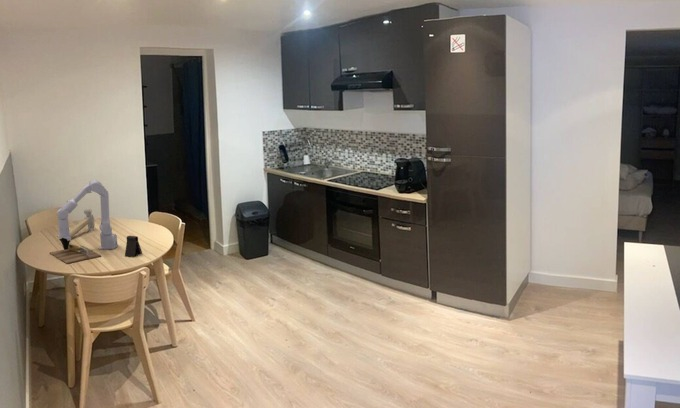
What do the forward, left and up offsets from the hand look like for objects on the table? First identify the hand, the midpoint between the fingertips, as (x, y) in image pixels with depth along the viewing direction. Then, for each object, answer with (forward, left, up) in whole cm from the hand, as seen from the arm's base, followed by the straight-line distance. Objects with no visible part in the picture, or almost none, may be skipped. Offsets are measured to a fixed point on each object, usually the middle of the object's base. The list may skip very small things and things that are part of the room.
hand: (66, 249), depth 337 cm
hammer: (+10, -40, -3) cm, 42 cm away
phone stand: (-43, +3, -2) cm, 43 cm away
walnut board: (-8, +5, -2) cm, 9 cm away
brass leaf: (-5, 0, -1) cm, 5 cm away
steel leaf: (-13, +6, -1) cm, 15 cm away
